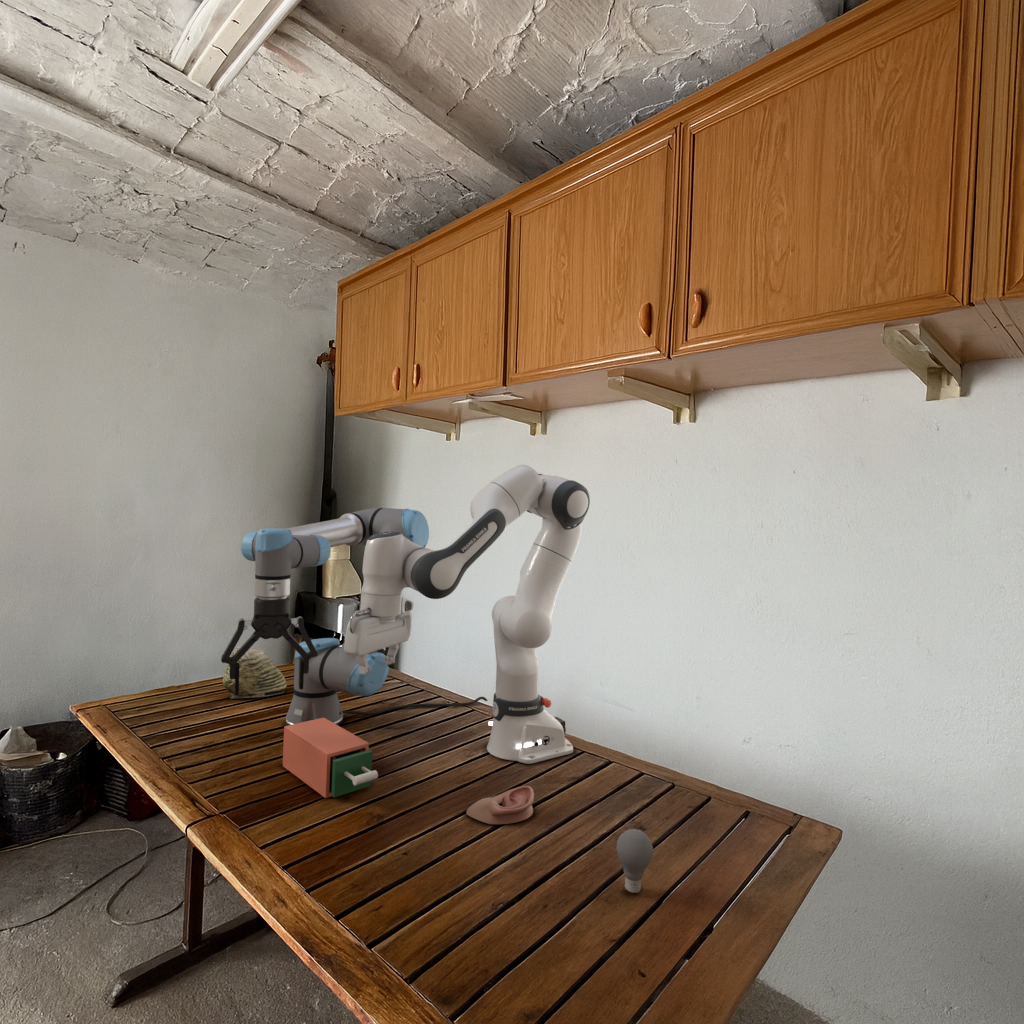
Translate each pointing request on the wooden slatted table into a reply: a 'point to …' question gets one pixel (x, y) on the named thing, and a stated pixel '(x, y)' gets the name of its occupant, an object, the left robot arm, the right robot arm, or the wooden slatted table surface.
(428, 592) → the right robot arm
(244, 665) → the fossil
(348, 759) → the drawer
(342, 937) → the wooden slatted table surface
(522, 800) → the anatomical model
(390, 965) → the wooden slatted table surface
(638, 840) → the light bulb
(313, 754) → the cabinet
